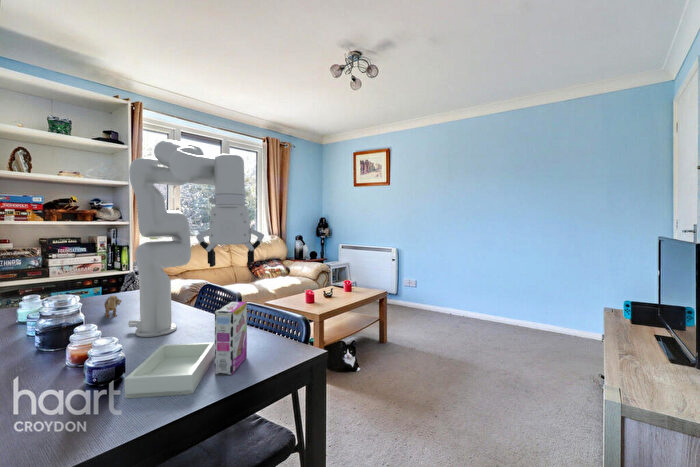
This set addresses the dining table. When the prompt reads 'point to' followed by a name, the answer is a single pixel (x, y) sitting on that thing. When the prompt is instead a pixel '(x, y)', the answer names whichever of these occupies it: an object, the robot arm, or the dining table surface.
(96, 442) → the dining table surface
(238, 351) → the candy bar box
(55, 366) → the dining table surface
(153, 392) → the tray
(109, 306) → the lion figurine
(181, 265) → the robot arm
